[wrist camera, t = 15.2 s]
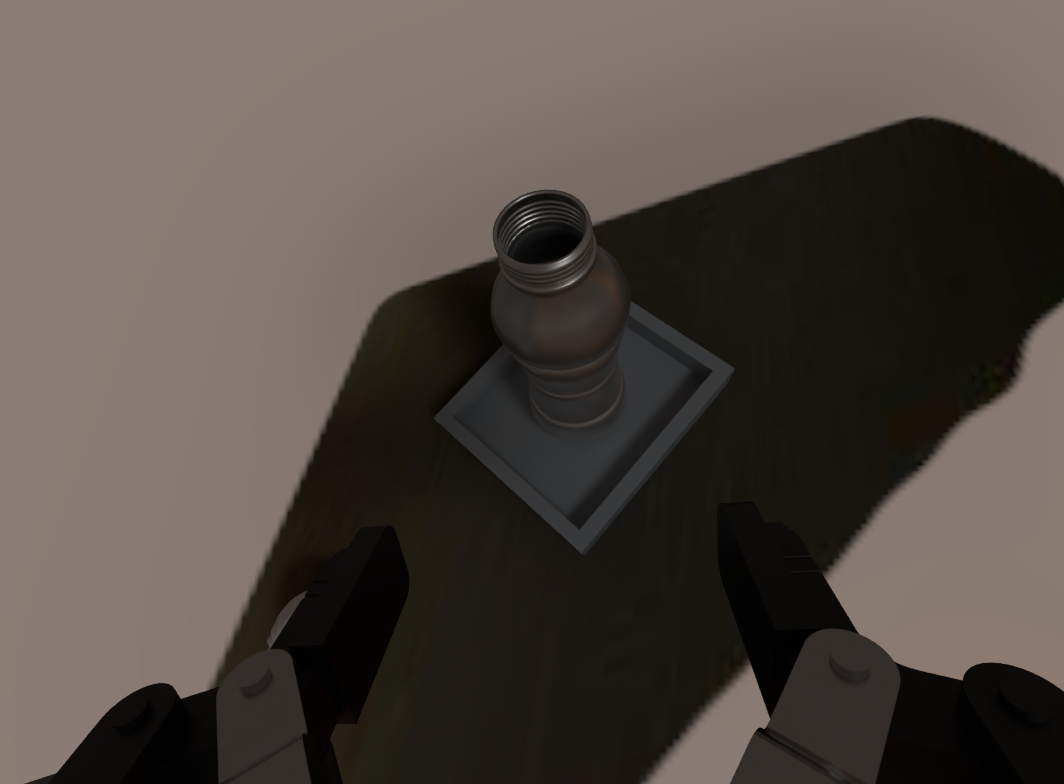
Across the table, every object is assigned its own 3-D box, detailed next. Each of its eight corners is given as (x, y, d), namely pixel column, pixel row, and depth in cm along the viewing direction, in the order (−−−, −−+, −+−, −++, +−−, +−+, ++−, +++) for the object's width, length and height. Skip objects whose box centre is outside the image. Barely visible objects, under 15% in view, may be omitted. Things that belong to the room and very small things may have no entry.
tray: (584, 556, 34) (581, 553, 31) (446, 430, 39) (433, 418, 36) (726, 385, 37) (734, 368, 34) (580, 287, 42) (577, 266, 39)
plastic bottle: (532, 372, 39) (450, 177, 20) (621, 361, 38) (620, 145, 19) (538, 454, 36) (452, 316, 18) (633, 443, 35) (646, 287, 17)
